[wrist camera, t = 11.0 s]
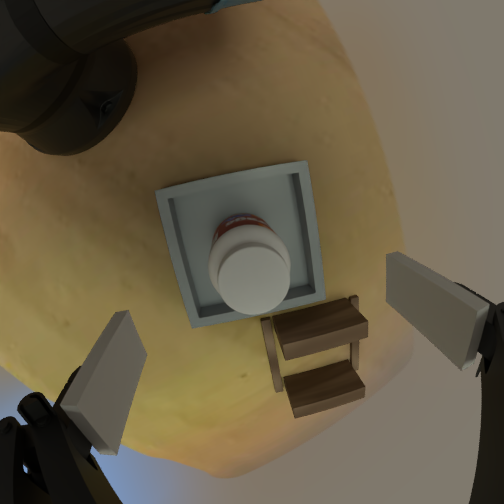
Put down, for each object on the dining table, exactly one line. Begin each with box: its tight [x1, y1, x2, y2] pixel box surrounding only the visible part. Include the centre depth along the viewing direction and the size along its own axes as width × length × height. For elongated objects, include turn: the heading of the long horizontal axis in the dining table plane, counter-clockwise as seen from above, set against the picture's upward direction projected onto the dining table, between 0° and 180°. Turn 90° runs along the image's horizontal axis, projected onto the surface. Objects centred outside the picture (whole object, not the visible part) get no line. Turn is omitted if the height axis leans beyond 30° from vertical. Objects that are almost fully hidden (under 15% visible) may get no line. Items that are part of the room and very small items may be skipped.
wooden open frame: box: [261, 295, 368, 418], centre depth 31 cm, size 12×12×6 cm
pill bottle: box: [208, 213, 291, 315], centre depth 23 cm, size 6×6×11 cm
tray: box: [155, 160, 326, 328], centre depth 28 cm, size 14×14×3 cm
